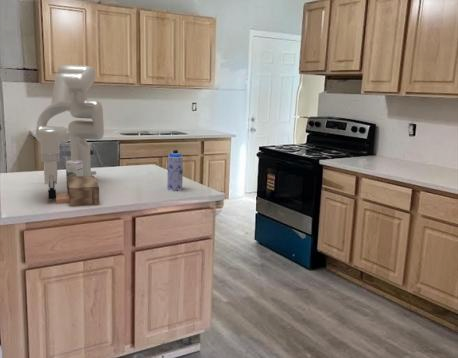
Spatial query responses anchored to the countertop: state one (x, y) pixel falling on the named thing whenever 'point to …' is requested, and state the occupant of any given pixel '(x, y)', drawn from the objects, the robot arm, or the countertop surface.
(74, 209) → the countertop surface
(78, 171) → the syrup box
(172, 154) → the aerosol can
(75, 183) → the brown box
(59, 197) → the panel
